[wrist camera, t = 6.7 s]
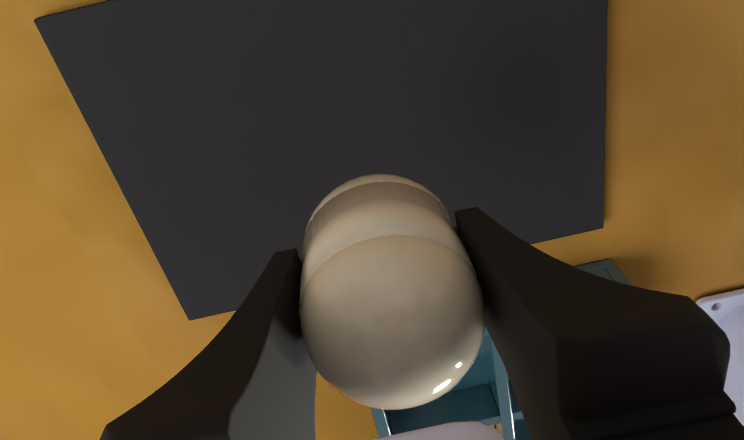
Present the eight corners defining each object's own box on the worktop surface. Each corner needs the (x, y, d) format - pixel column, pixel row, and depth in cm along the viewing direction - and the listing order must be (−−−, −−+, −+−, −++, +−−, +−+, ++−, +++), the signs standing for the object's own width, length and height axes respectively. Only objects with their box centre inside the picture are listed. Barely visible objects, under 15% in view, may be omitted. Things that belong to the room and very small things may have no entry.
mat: (603, -122, 18) (610, -123, 18) (599, 222, 25) (603, 228, 25) (38, 17, 19) (32, 19, 18) (191, 314, 26) (188, 321, 25)
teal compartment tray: (610, 257, 26) (639, 293, 24) (604, 486, 36) (624, 527, 34) (350, 315, 27) (353, 356, 24) (414, 525, 37) (421, 568, 34)
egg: (431, 133, 16) (501, 275, 10) (451, 253, 18) (517, 429, 12) (286, 167, 16) (267, 327, 10) (323, 281, 18) (326, 469, 12)
